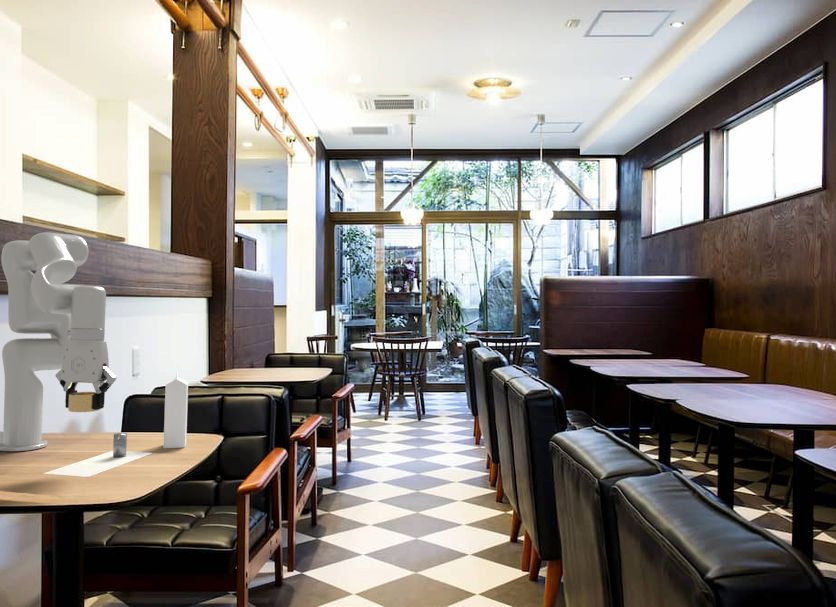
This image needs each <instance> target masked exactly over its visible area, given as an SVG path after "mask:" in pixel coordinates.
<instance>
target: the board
mask: <svg viewBox="0 0 836 607" xmlns="http://www.w3.org/2000/svg"><path fill="white" fill-rule="evenodd" d="M151 454H153V452H145V451H143V452H142V451H131V450H130V451H129V450H126V457H122V458H114V457H113V450H111V451H108V452H104V453H102V454H99V455H96V456H92V457H89V458H87V459H83V460H80V461H77V462H74V463H70V464H68V465H65V466H62V467H59V468H56V469H53V470H49V471H47V472H43V473H42V474H43V475H56V476H69V477H70V476H71V477H83V478H90V477H92V476H95V475H97V474H98V475H99V474H100V473H103V472H106V471H108V470H111V469H113V468H114V469H115V468H117V467H120V466H123V465H125V464H127V463H131V462H133V461H136V460H138V459H141V458H144V457H147V456H149V455H151Z"/></svg>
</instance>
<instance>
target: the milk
mask: <svg viewBox="0 0 836 607" xmlns="http://www.w3.org/2000/svg"><path fill="white" fill-rule="evenodd" d="M175 374H176V377H175V378H172V379H171V380H170V381H168V382H167V383H166V384H165V390H164V396H165V397H164V422H163V423H164V424H163V426H164V427H163V449H175V448H176V449H178V448H181V449H182V448H184V449H185V448H186V446H187V432H188V428H187V427H188V398H189V382H188V381H186V380H185V379H182V378H181V377H180V376H179V372H177V373H175Z"/></svg>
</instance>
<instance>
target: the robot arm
mask: <svg viewBox="0 0 836 607" xmlns="http://www.w3.org/2000/svg"><path fill="white" fill-rule="evenodd" d="M89 252H90V251H89V246H88V244H87V241H86V240H85V239H84V238H83V237H81V236H80V235H76V234H70V233H69V234H67V233H57V232H50V231H48V232H47V231H46V232H40V233H36V234H35V235H33V236H32V237H30V239H29V240H20V239H18V240H11V241H8V242H7V243H5V244H4V246H3V247H2V251H1V257H0V258H1V259H0V260H1V267H2V271H3V273H4V276H5V279H6V282H7V288H8V299H7V300H8V326H9V329H10V331H12V332H13V333H16V334H21V335H22V334H26V335H28V334H30V335H35V334H36V335H37V334H39V335H40V334H43V335H45V334H46V335H47V334H48V335H50V337H49V338H48V337H47V338H43V337H41V338H40V337H38V338H37V337H34V338H31V337H28V338H27V337H26V338H24V337H23V338H16V339H11V340H10V341H7V342H6V343H5V344H4V345H3V347H2V350H1V356H2V357H1V358H2V365H3V373H4V397H3V398H4V399H3V400H4V402H3V403H4V405H3V429H2V431H0V452H23V451H26V452H27V451H33V450H37V449H42V448H45V447H47V446H48V440H46V439H43V438H42V436H43V433H42V432H43V408H44V407H43V406H44V405H43V404H44V385H43V383H42V381H41V380H40V378H38V376H37V375H36V374H35V372H39V371H55V370H56V371H57V370H58V371H57V372H56V374H55V378H56V379H57V380H58V382H59V385H60V386H61V387H62V389H63V392H65V402H64V403H65V408H67V409H68V406H69V394H70V393H75V392H78V390H77V389H76V388H77V386H78V384H79V383H85V384H86V383H87V384H92V386H93V389H94V392H96V393H94V394H93V409H94V410H98V409H100V410H101V409H104V407H105V398H106V396H105V393H107V392H108V390H109V389H110V388H111V387H112V385H113V384H114V382H116V380H117V376H116V375H115V374H114V373H113V372H112V371H111V370H110V366H109V365H110V364H109V362H110V361H109V360H110V359H109V351H108V350H109V349H108V345H107V341H105V334H106V333H105V332H106V331H105V326H106V306H107V304H106V302H107V291H106V289H105V288H104V287H102V286H96V285H85V284H84V285H83V284H70V283H68V284H67V283H66V282H68V281H70V280H71V279H72V278H73V277H75V275H76V273H77V270H78V267H81V266H83V265H84V264H85V263H86V262H87V260H88V257H89ZM32 271H35V272H32ZM65 283H66V284H65ZM98 411H99V410H98Z"/></svg>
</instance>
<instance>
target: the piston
mask: <svg viewBox="0 0 836 607" xmlns="http://www.w3.org/2000/svg"><path fill="white" fill-rule="evenodd" d="M127 441H128V433H127V432H117V433H116V432H115V433H114V434H113V442H112V443H113V446H112V449H113V450H112V451H113V457H114V458H122V457H126V451H127V444H128V443H127Z"/></svg>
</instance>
